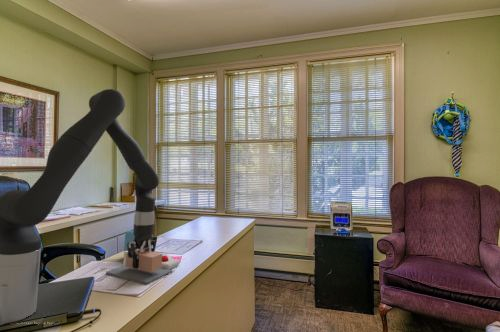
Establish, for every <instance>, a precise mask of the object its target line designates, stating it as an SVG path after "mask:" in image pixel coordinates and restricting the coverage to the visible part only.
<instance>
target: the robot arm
mask: <svg viewBox="0 0 500 332" xmlns="http://www.w3.org/2000/svg"><path fill="white" fill-rule="evenodd" d="M88 107H89V109H90V110H89V111H88V112H87V113H86V114H85V115H84V116H83V117H81V118H80V119H79V120H78V121H76V122H75V123H74V124H73V125H71V126H70V127H69V128H68V129H66V131H64V132H63V133H62V134H61V135H60V137H59V138H58V139H57V140H56V141H55V143H54V144H52V146H51V148H50V150H49V152H48V154H47V159H46V165H45V168H44V171H43V172H42V174H41V176H39V178H38V179H37V180H36V181H35V183H34V184H33V185H31V187H30V188H29V189H27V190H24V189H12V190H10V191H7V192H5V193H3V194H2V195H1V196H0V326H2V325H4V324H8V323H14V322H19V321H22V320H24V319H27V318H28V316H29V317H30V315H31V316H32V315H34V314H35V313H36V311H37V305H38V304H37V303H38V293H39V292H38V291H39V290H38V289H39V279H40V277H39V276H40V268H41V267H40V264H41V255H42V254H41V253H42V239H41V237H40V236H39V235H38V234H37V232H36V231H35V229H34V226H36V225H39V224H41V223H42V222H43V221H44V220H45V219H46V218H47V217H48V216H49V214H50V213H51V212H52V210H53V208H54V207H55V205H56V203H57V201H58V199H59V198H60V196H61V195H62V193H63V191H64V189H65V188H66V186H67V185H68V184H69V182H70V181H71V179H72V178H73V176H74V175H75V174H76V172H77V171H78V169H80V167H81V165H83V163H84V162H85V161H86V159H87V158H88V157H89V155H90V154H91V152H92V151H93V149H94V147H95V146H96V145H97V144H98V143H99V141H100V139H101V138H102V137H103V136H104V133H105V132H106V133H107V135H109V137H110V138H111V140H112V141H113V142H114V144H115V146H116V147H117V148H118V150H119V152H120V154H121V156H122V158H123V160H124V162H125V163H126V165H127V166H128V168H129V169H130V170H131V171H133V172H134V174H135V176H136V177H135V178H134V180H135V181H134V190H135V197H136V198H135V200H136V201H135V211H134V216H133V217H134V219H133V229H132V231H133V234H134V236H135V238H134V241H133V242H131V243H130V242H128V243H127V249H128V257H129V258H133V263H132V266H133V268H135V269H137V268H138V266H139V259H138V258H139V255H140V253H142V250H143V249H144V251H150V252H155V250H156V247H157V242H158V236H156V235H154V232H155V220H156V219H155V216H156V214H155V206H156V205H155V204H156V200H155V199H156V198H155V197H154V195H153V190H155V189H157V187H158V185H159V184H160V179H159V176H158V173H157V171H156V170H155V169H154V168H153V166H152V165H151V164H150V163H149V161H148V160H147V158H146V156H145V154H144V152H143V150H142V148H141V146H140V145H139V143H138V142H137V141H136V140H135V138H133V137H132V136H131V134H129V132H127V131H126V130H125V129H124V128H123V126H122V125H121V123H120V122H119V119H118V118H119V116H120V115H121V114H122V113H123V111H124V109H125V108H126V100H125V96H124V95H123V93H121V92H120V91H119V90H118V89H114V88H108V89H103V90H101V91H99V92H97V93H95V94H93V95H92V96H91V97H90V98H89V100H88ZM137 249H139V250H137ZM131 253H132V254H131ZM136 253H137V255H135V254H136ZM34 312H35V313H34ZM33 313H34V314H33ZM26 317H27V318H26Z"/></svg>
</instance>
